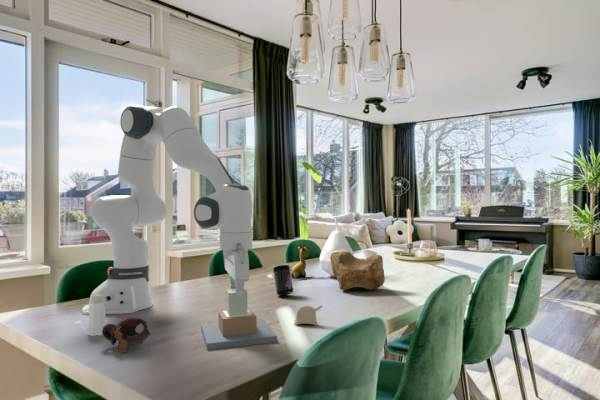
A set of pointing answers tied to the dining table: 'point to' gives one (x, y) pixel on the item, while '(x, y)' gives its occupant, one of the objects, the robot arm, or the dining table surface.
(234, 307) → the sage block
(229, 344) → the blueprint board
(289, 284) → the supplement container
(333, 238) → the pear ornament
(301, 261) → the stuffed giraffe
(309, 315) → the decorative ornament
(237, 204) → the robot arm
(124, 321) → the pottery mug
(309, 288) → the dining table surface
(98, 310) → the pepper shaker
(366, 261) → the rough brown rock
